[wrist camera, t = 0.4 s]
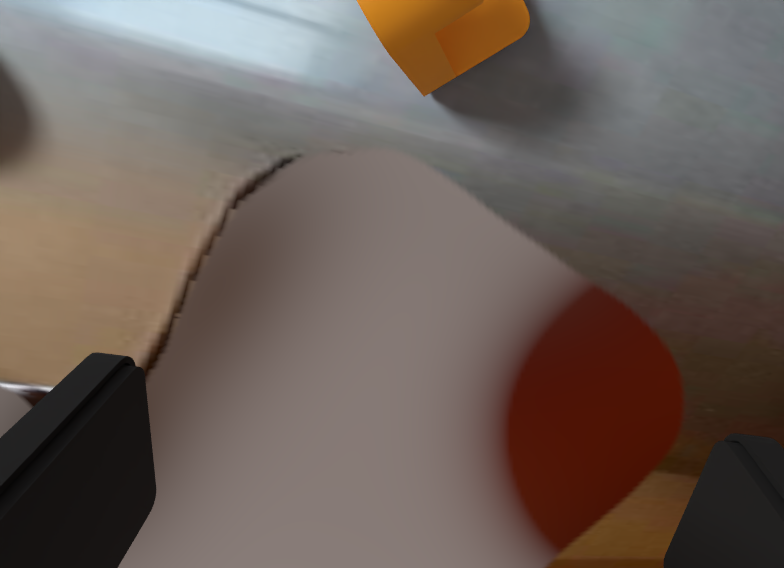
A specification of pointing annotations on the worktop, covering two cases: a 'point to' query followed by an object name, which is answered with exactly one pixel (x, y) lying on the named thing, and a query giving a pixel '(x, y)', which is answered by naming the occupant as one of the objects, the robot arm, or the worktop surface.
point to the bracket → (444, 34)
